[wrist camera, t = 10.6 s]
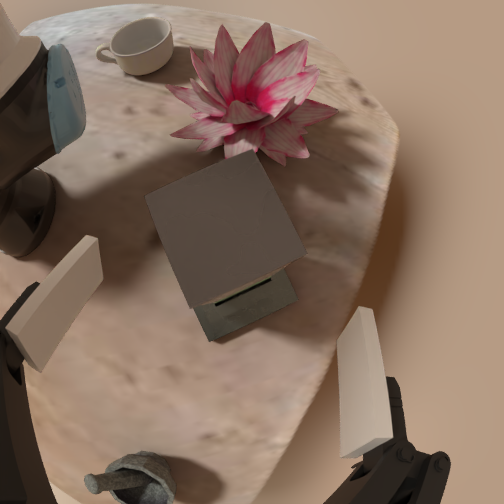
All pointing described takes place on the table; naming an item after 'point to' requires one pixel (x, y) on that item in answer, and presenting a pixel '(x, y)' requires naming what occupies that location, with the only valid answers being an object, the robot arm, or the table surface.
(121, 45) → the teacup
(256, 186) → the steel post
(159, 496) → the mortar and pestle
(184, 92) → the decorative flower
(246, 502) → the table surface
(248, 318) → the sleeve
